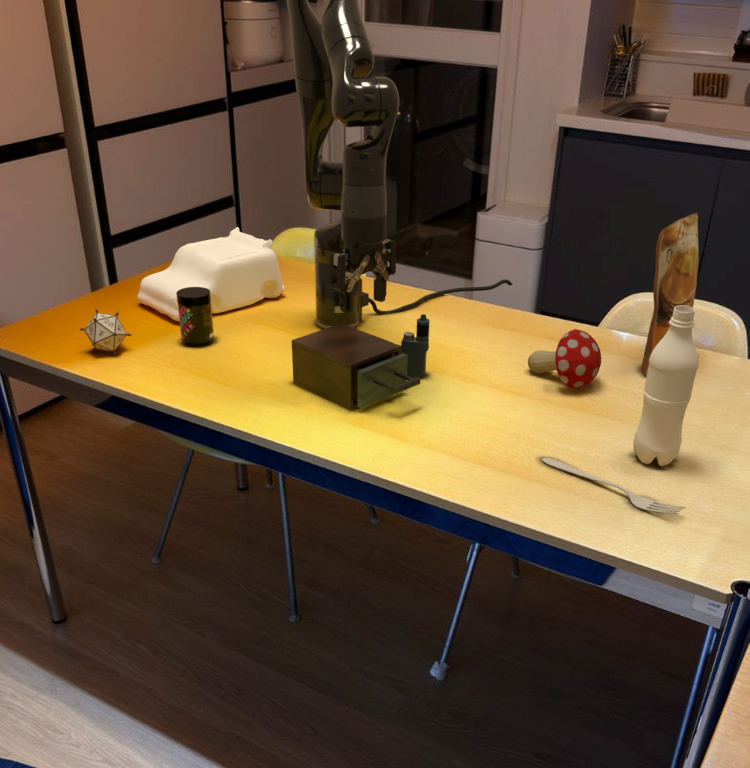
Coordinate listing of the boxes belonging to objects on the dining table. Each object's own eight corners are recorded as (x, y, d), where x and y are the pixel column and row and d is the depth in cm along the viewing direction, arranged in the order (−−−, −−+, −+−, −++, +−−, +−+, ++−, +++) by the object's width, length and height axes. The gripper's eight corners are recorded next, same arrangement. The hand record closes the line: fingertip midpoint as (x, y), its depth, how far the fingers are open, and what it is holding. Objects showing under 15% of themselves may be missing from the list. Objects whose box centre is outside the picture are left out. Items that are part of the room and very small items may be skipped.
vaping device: (426, 378, 167) (429, 318, 160) (398, 376, 167) (400, 315, 161) (428, 373, 169) (431, 313, 162) (401, 370, 170) (403, 311, 163)
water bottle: (624, 448, 144) (652, 301, 131) (667, 447, 145) (698, 300, 131) (639, 470, 138) (669, 318, 125) (683, 468, 139) (718, 317, 125)
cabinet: (400, 389, 162) (401, 345, 158) (350, 410, 155) (350, 365, 150) (342, 364, 172) (342, 322, 167) (293, 383, 164) (291, 340, 160)
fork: (548, 455, 142) (550, 446, 141) (684, 516, 127) (687, 506, 126) (536, 462, 140) (537, 452, 139) (673, 524, 125) (675, 514, 124)
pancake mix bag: (621, 371, 171) (646, 225, 156) (669, 345, 182) (697, 207, 167) (652, 382, 167) (681, 233, 152) (699, 354, 178) (731, 214, 164)
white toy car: (290, 297, 205) (288, 239, 198) (179, 327, 187) (172, 265, 180) (243, 277, 217) (239, 222, 209) (134, 304, 199) (126, 244, 192)
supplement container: (186, 334, 184) (181, 286, 179) (218, 335, 184) (213, 287, 178) (177, 347, 178) (172, 297, 173) (210, 348, 178) (206, 298, 172)
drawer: (429, 399, 157) (431, 364, 153) (385, 419, 150) (386, 382, 146) (351, 366, 169) (351, 332, 165) (307, 383, 162) (306, 348, 158)
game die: (120, 366, 179) (146, 327, 176) (95, 366, 171) (122, 326, 168) (90, 337, 180) (115, 298, 177) (63, 337, 172) (89, 296, 169)
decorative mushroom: (517, 325, 167) (584, 318, 156) (552, 344, 174) (617, 338, 163) (507, 381, 166) (573, 378, 155) (541, 398, 173) (607, 396, 162)
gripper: (351, 222, 138) (351, 321, 146) (409, 207, 147) (406, 301, 156) (317, 214, 142) (319, 311, 151) (375, 200, 151) (374, 292, 160)
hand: (363, 306), depth 153 cm, fingers open, 8 cm apart
